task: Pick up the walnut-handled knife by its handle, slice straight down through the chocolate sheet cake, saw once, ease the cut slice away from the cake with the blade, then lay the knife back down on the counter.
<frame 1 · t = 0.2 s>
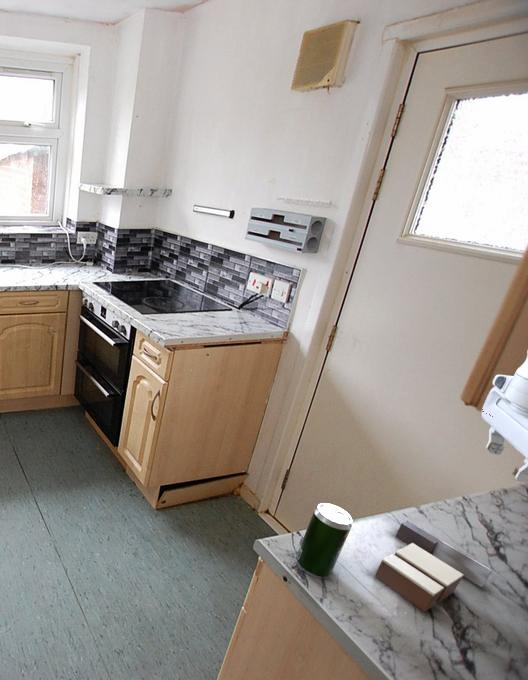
hand: (505, 465, 83), 19 cm above the counter, tool pointing down, fingers open, 8 cm apart
cake slice: (403, 590, 78), on the counter
cake: (420, 580, 80), on the counter
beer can: (311, 568, 81), on the counter
knife: (414, 544, 88), on the counter
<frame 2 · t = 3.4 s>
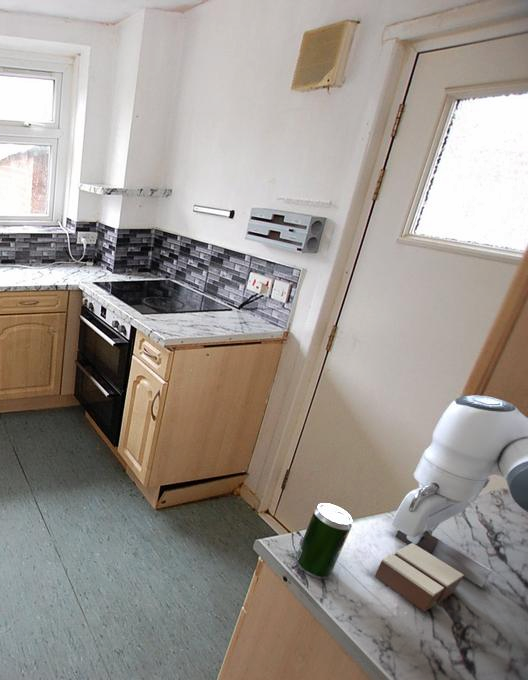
hand: (417, 538, 88), 2 cm above the counter, tool pointing down, fingers closed on knife, 2 cm apart
knife: (414, 544, 88), on the counter, touching gripper
everything else where it was.
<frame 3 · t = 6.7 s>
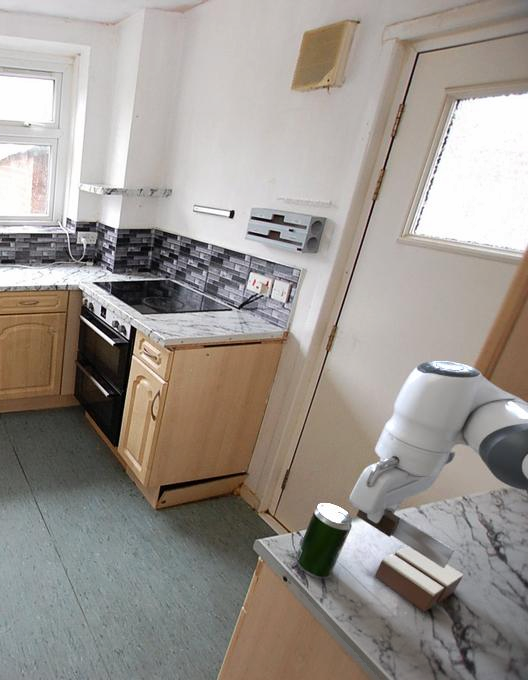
hand: (379, 517, 82), 9 cm above the counter, tool pointing down, fingers closed on knife, 2 cm apart
knife: (375, 524, 82), point 7 cm above the counter, touching gripper
everything else where it was.
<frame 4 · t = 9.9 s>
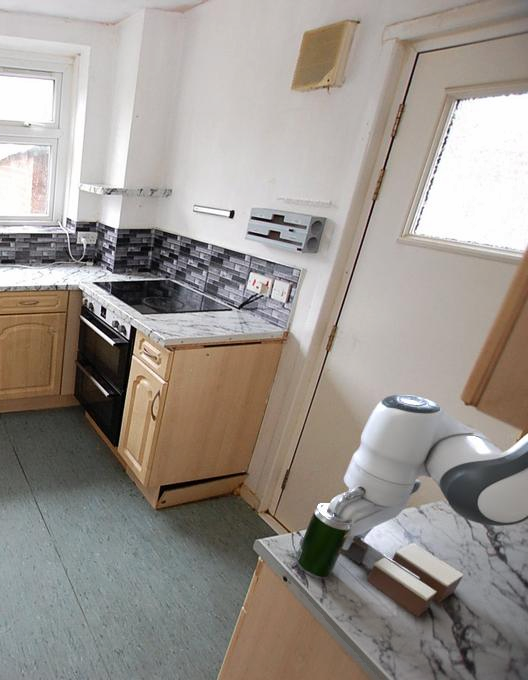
hand: (349, 544, 84), 2 cm above the counter, tool pointing down, fingers closed on knife, 2 cm apart
cake slice: (395, 594, 77), on the counter, touching knife
knife: (346, 551, 85), on the counter, touching cake slice, gripper
everything else where it was.
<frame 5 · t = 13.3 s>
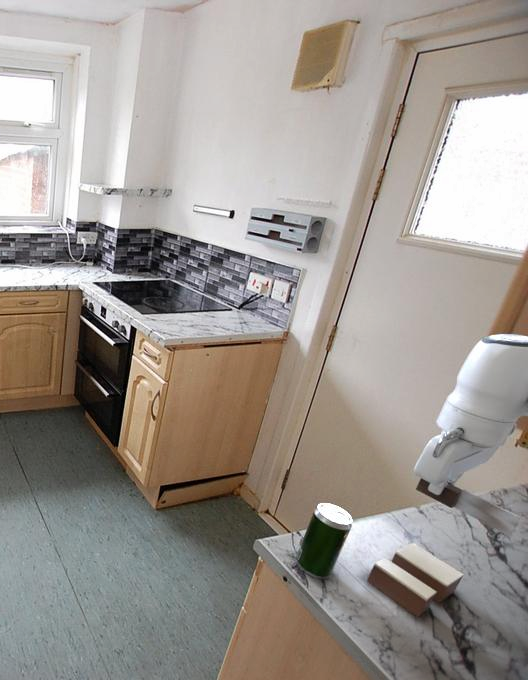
hand: (439, 489, 83), 13 cm above the counter, tool pointing down, fingers closed on knife, 2 cm apart
cake slice: (395, 594, 77), on the counter
knife: (435, 497, 84), point 11 cm above the counter, touching gripper
everything else where it was.
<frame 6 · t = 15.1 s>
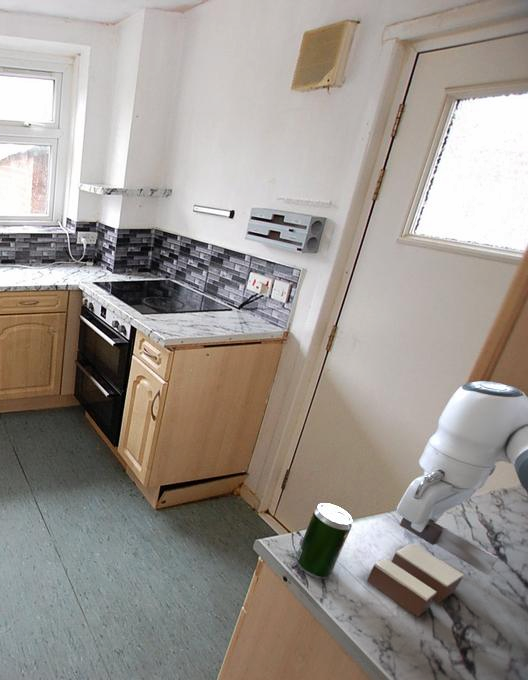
hand: (422, 526, 87), 4 cm above the counter, tool pointing down, fingers closed on knife, 2 cm apart
knife: (418, 533, 87), point 3 cm above the counter, touching gripper
everything else where it was.
when the fingers open (2 cm above the counter, at t = 16.0 s): knife stays where it is, on the counter.
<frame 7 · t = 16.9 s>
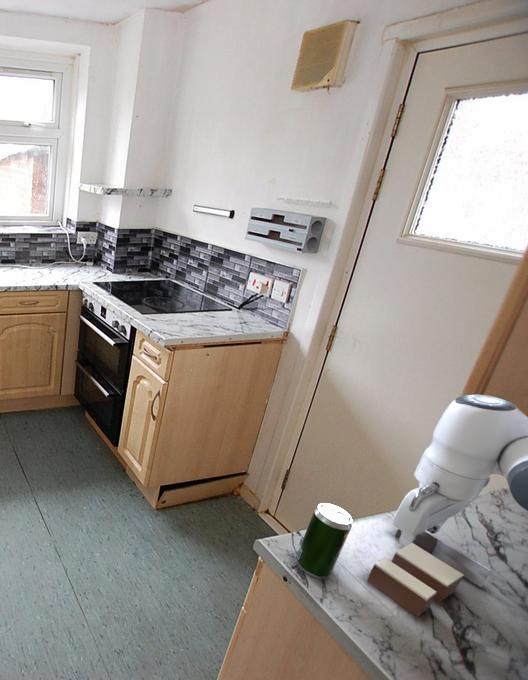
hand: (418, 537, 88), 2 cm above the counter, tool pointing down, fingers open, 8 cm apart
knife: (413, 544, 88), on the counter
everything else where it was.
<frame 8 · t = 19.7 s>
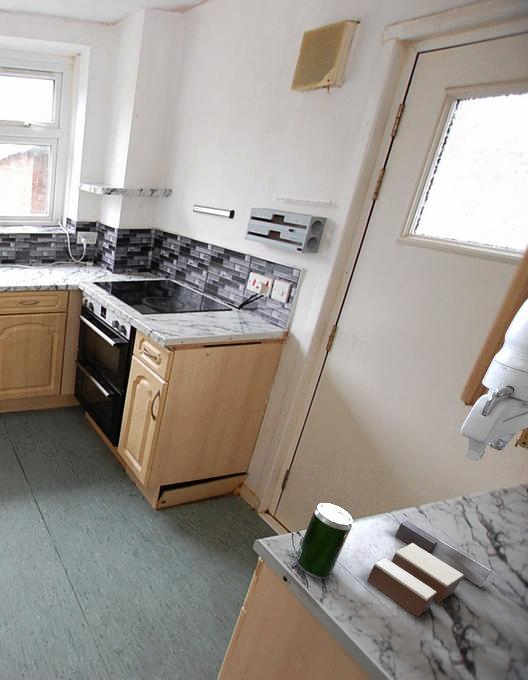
hand: (484, 453, 81), 21 cm above the counter, tool pointing down, fingers open, 8 cm apart
nothing on the counter moved.
at the end: cake slice 1.6 cm from the target spot, on the counter; cake slice tilted 0°; knife inside the target area (0.1 cm from its centre), on the counter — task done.
